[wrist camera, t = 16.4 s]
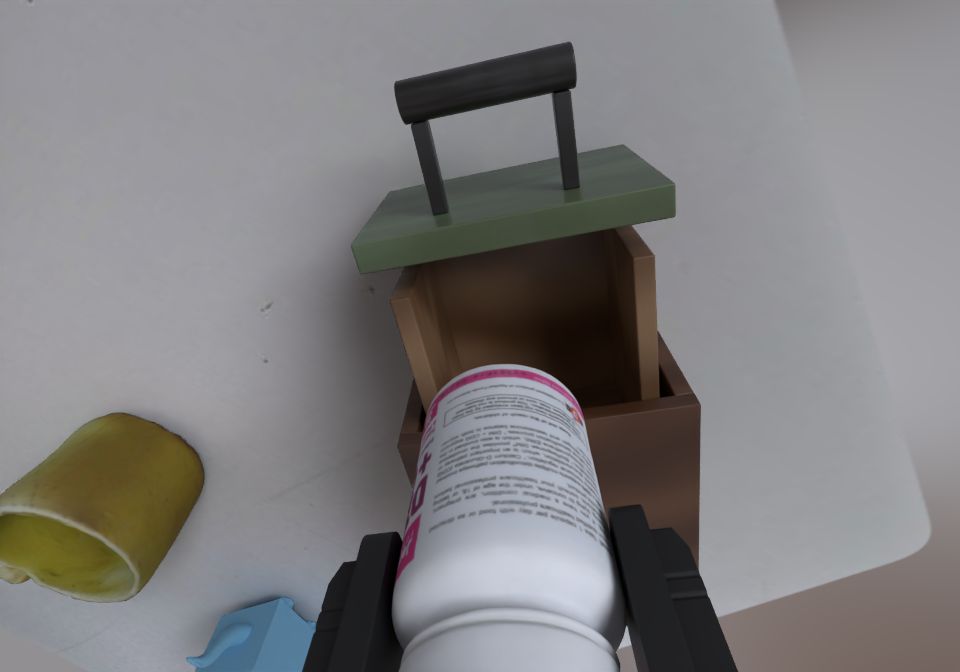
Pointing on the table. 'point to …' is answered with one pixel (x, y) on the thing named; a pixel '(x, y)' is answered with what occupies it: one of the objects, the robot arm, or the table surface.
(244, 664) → the light blue peg cube
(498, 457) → the pill bottle
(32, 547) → the mug
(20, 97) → the table surface
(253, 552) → the table surface
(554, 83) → the drawer
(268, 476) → the table surface
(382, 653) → the robot arm
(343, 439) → the table surface
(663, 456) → the cabinet
